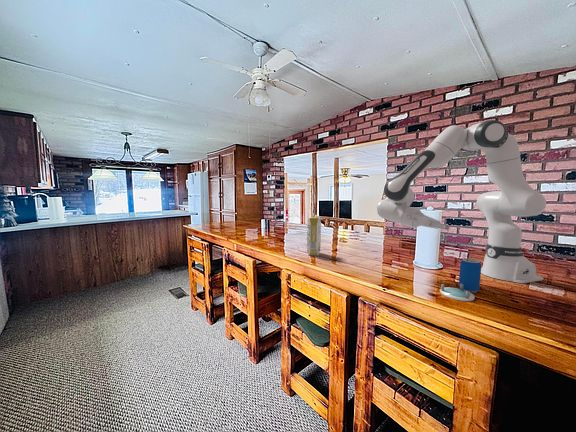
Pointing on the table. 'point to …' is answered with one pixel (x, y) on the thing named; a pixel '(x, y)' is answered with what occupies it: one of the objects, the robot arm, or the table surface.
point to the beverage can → (470, 274)
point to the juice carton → (314, 235)
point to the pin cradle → (457, 293)
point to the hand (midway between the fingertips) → (447, 227)
